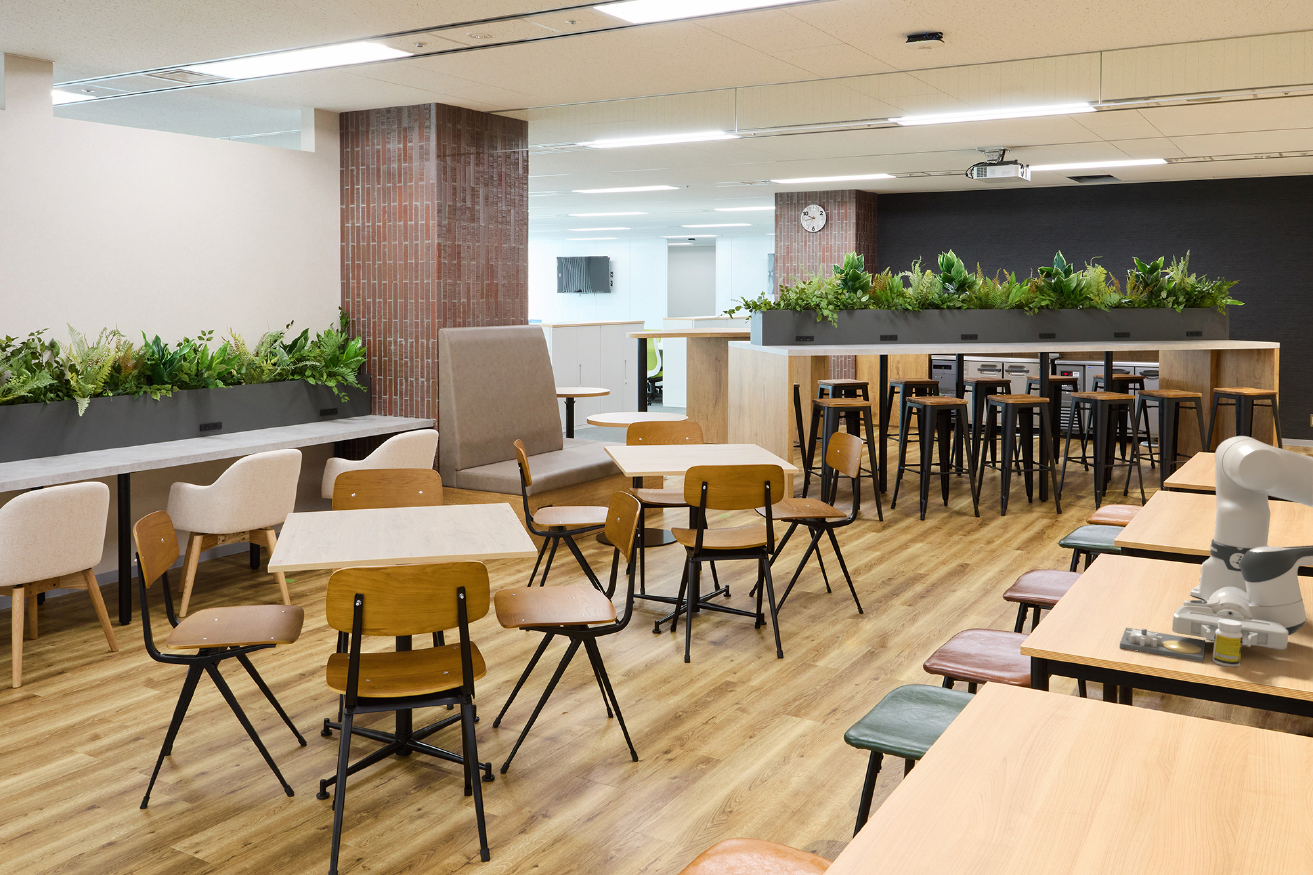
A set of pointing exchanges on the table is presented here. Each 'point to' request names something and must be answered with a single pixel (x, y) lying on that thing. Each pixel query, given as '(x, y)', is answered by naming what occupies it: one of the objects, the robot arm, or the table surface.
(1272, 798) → the table surface
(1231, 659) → the supplement bottle
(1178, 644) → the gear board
